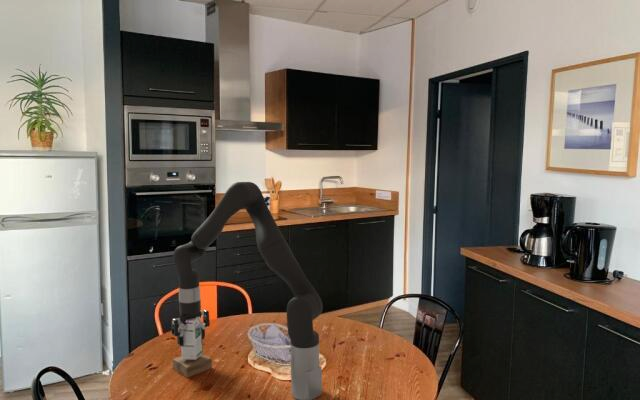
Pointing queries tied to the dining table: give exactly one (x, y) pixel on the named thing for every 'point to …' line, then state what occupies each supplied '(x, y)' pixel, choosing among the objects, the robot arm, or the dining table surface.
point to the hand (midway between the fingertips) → (191, 342)
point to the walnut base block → (192, 365)
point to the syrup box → (192, 340)
